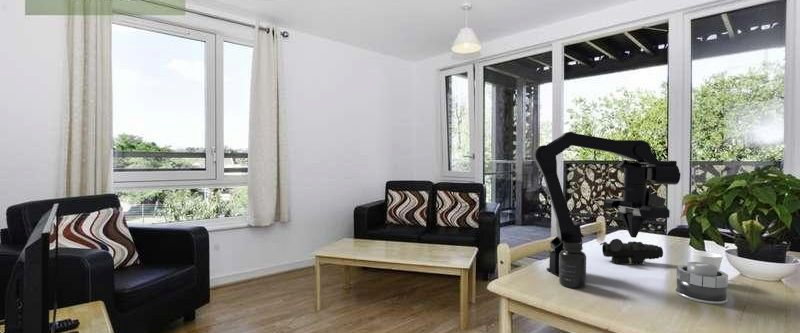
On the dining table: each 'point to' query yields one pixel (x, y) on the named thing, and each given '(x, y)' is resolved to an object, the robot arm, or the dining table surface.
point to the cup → (707, 258)
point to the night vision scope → (630, 252)
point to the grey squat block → (701, 269)
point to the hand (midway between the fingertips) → (633, 237)
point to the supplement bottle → (572, 265)
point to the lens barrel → (702, 286)
